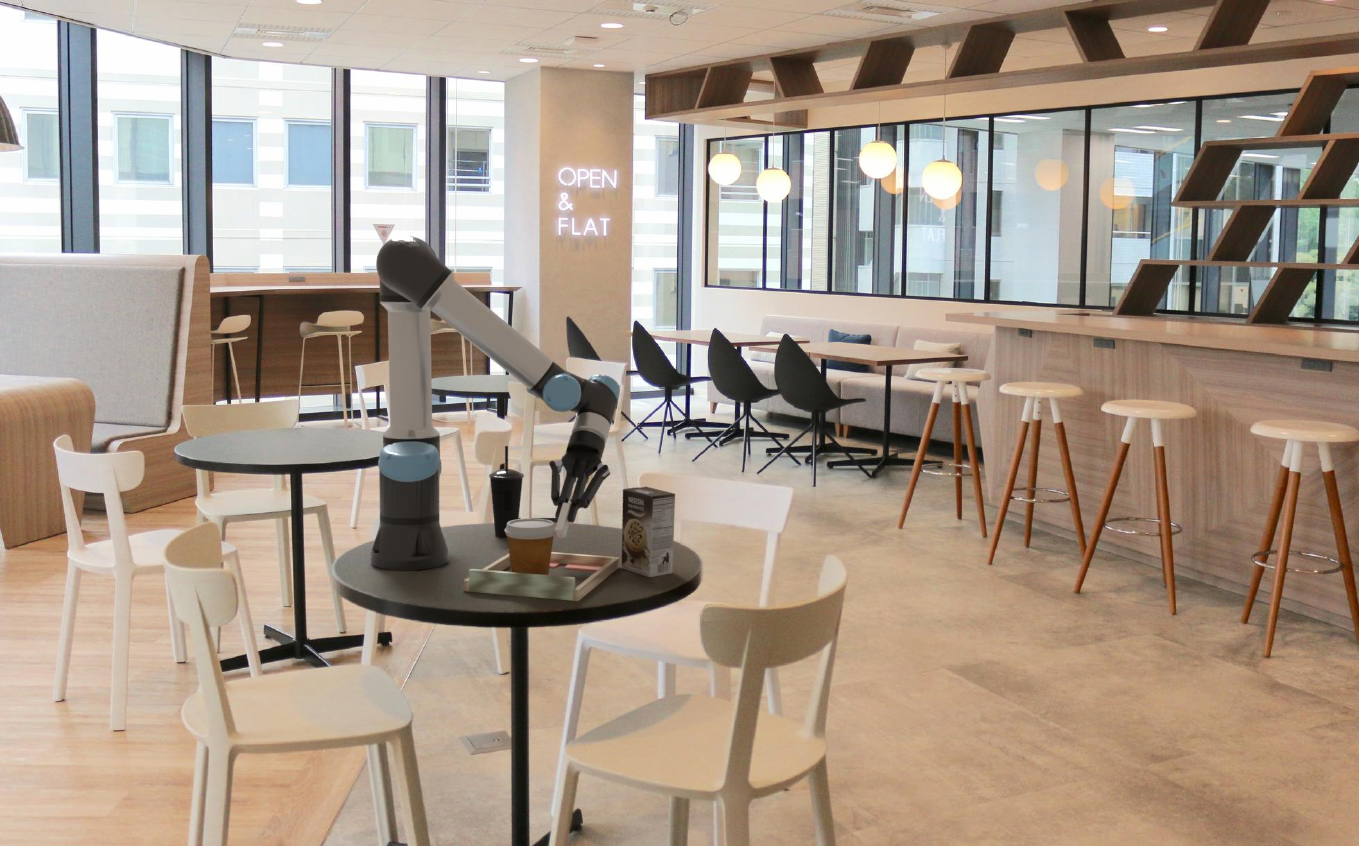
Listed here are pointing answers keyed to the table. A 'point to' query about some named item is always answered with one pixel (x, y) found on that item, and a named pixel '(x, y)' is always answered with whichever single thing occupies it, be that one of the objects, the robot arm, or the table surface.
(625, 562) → the coffee box
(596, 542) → the table surface
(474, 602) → the table surface
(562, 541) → the table surface
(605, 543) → the table surface
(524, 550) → the disposable coffee cup
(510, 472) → the drinking cup
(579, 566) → the mats
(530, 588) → the light wooden rectangular frame
